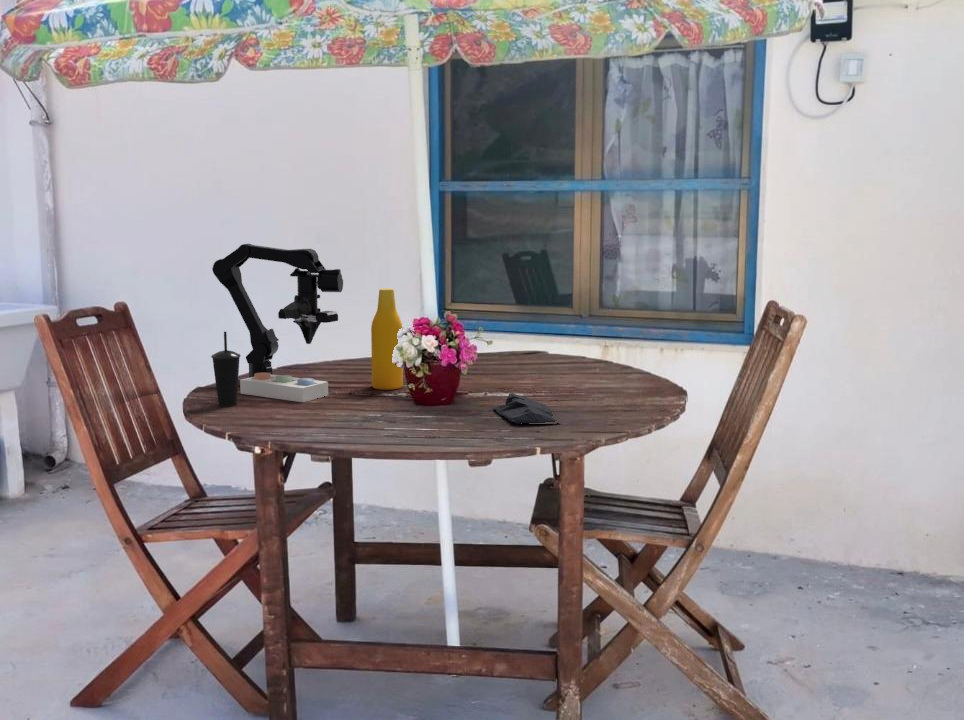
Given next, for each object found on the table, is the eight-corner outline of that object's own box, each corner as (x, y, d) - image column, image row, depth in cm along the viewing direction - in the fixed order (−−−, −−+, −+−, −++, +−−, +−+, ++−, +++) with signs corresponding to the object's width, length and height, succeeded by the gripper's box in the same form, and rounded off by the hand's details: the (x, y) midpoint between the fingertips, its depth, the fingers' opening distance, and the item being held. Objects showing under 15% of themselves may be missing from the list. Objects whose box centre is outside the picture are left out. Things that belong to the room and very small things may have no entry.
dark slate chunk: (503, 428, 267) (504, 410, 266) (491, 409, 289) (491, 392, 288) (564, 427, 269) (564, 408, 268) (547, 408, 291) (547, 391, 290)
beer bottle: (365, 386, 317) (364, 288, 312) (390, 382, 323) (389, 287, 318) (384, 391, 310) (383, 291, 306) (409, 387, 316) (408, 289, 312)
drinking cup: (216, 401, 294) (214, 329, 291) (244, 401, 295) (242, 329, 291) (210, 407, 287) (207, 333, 284) (238, 407, 287) (236, 333, 284)
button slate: (294, 397, 300) (293, 379, 299) (305, 394, 304) (304, 377, 303) (307, 399, 298) (306, 381, 297) (317, 396, 301) (317, 379, 301)
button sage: (272, 394, 304) (272, 377, 303) (283, 391, 308) (283, 374, 307) (284, 396, 302) (284, 378, 301) (295, 393, 306) (295, 376, 305)
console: (240, 393, 306) (240, 379, 305) (266, 387, 315) (266, 373, 315) (302, 402, 294) (302, 388, 294) (328, 395, 304) (328, 381, 303)
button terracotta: (251, 391, 308) (250, 374, 307) (262, 388, 312) (261, 371, 311) (263, 393, 306) (263, 375, 305) (274, 390, 310) (274, 373, 309)
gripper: (264, 292, 315) (266, 344, 318) (314, 296, 305) (315, 350, 308) (290, 289, 324) (291, 340, 327) (338, 292, 315) (339, 345, 317)
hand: (308, 343), depth 320 cm, fingers closed
